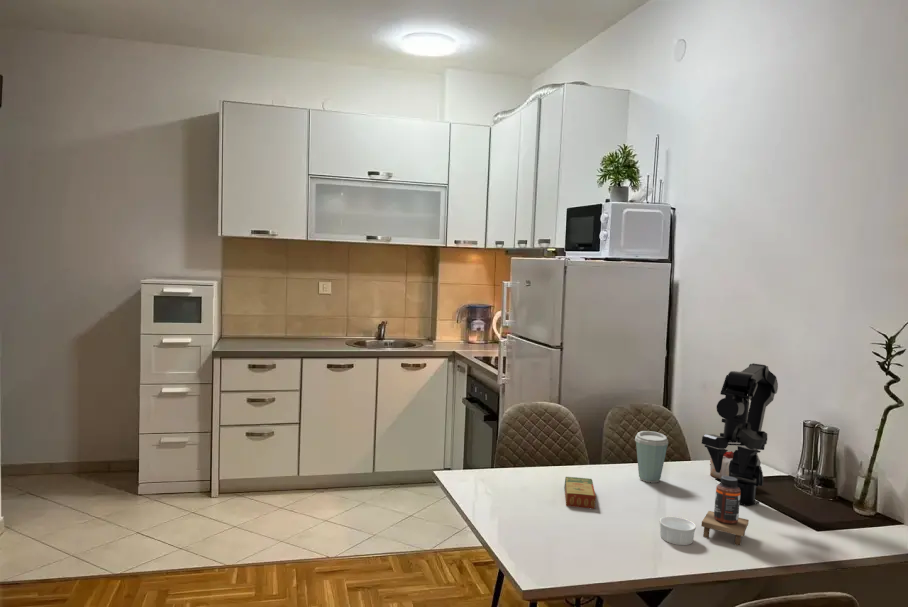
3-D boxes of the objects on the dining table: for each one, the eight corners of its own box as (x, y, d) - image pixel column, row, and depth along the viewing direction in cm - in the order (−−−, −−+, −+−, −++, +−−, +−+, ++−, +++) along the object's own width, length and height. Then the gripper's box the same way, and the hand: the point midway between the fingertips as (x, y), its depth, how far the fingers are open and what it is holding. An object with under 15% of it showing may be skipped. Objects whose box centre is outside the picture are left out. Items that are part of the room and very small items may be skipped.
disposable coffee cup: (669, 486, 216) (673, 439, 215) (635, 484, 216) (639, 437, 215) (660, 475, 227) (663, 431, 226) (627, 473, 227) (631, 429, 226)
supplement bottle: (743, 523, 176) (747, 480, 176) (725, 526, 174) (729, 482, 173) (725, 515, 182) (729, 473, 181) (708, 517, 179) (712, 475, 179)
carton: (565, 507, 193) (566, 492, 192) (563, 488, 209) (564, 475, 208) (595, 510, 192) (596, 495, 191) (591, 491, 207) (592, 477, 207)
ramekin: (690, 549, 168) (691, 532, 167) (654, 540, 172) (655, 523, 172) (698, 538, 175) (699, 522, 175) (663, 529, 180) (664, 513, 180)
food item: (704, 474, 232) (707, 446, 231) (723, 473, 234) (726, 445, 234) (733, 488, 219) (736, 458, 218) (753, 487, 221) (756, 457, 221)
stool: (707, 525, 185) (708, 510, 184) (747, 534, 180) (748, 519, 179) (700, 536, 176) (701, 521, 176) (741, 547, 171) (743, 531, 171)
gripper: (735, 421, 180) (728, 480, 180) (784, 424, 188) (777, 480, 188) (703, 413, 190) (696, 469, 190) (751, 416, 198) (744, 470, 198)
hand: (729, 472), depth 191 cm, fingers open, 9 cm apart
